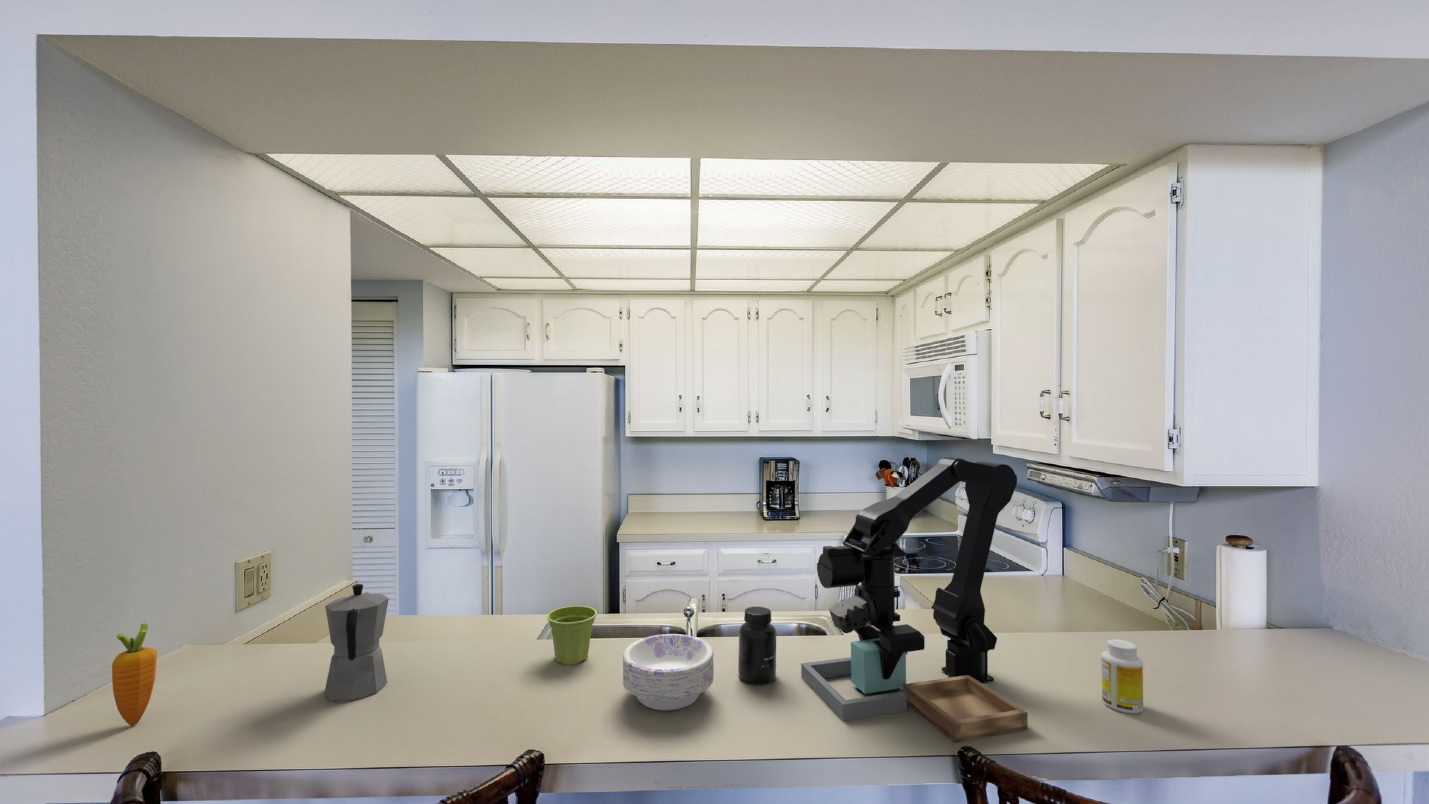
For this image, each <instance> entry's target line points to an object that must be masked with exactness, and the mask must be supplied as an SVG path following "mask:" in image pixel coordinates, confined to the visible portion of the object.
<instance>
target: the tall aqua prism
mask: <svg viewBox="0 0 1429 804" xmlns="http://www.w3.org/2000/svg"><path fill="white" fill-rule="evenodd" d="M877 640H879V638H877V639H869V640H861V641H860V640H853V641H850V657H851V674H850V677H851V678H850V682H851V683H852V684H853V685H854V686H855V687H856V688H857V689H859V690H860V691H861V692H862V693H863V694H865V695H866V694H872V693H877V692H878V693H879V692H884V691H891V690H898V689H903V684H907V655H908V652H904V653H903V654H902V656H901V658H900V659H899V661H898V663H897V665H896V667H895V669H894V671H893V673H892V675H891V677H890V679H886V680H884V679H883V676H882V671H881V661H880V652H879V649H878V648H877V647H876V646H875V645H874V644H873V643H872V641H877Z"/></svg>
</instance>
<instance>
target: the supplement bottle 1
mask: <svg viewBox="0 0 1429 804" xmlns="http://www.w3.org/2000/svg"><path fill="white" fill-rule="evenodd" d="M743 619H744V623H742V624H741V625H740V627H739V630H738V661H737V662H738V667H737V668H738V672H737V673H738V677H739V678H740V679H741V681H743V682H745V683H748V684H751V685H766V684H770V683H772V682H773V681H774V680H775V679H776V675H777V630H776V627H775V626H774V625H773V624H772V610H771V609H770V608H767V607H763V606H748V607H746V608H745V609H744V617H743Z"/></svg>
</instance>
